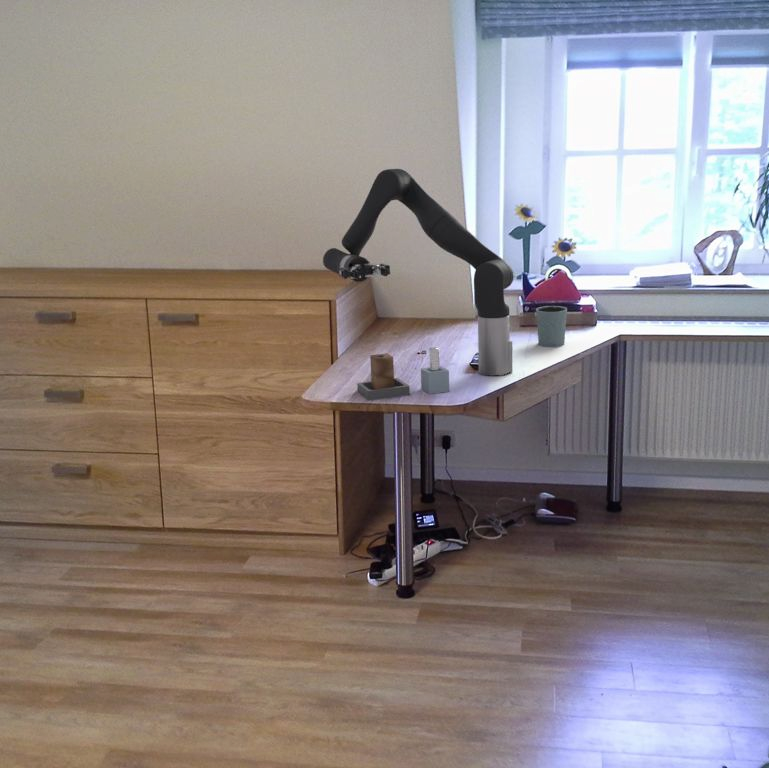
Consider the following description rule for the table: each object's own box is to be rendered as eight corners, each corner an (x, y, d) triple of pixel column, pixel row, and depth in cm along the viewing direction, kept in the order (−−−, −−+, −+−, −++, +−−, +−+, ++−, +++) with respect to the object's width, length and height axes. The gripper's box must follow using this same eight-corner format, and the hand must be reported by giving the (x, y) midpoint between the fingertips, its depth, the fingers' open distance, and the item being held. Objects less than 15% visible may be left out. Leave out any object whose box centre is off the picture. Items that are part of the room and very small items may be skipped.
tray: (397, 386, 264) (397, 377, 264) (409, 394, 255) (409, 385, 255) (357, 391, 261) (357, 382, 260) (368, 400, 252) (368, 391, 251)
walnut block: (388, 387, 261) (387, 352, 258) (394, 391, 256) (393, 356, 254) (371, 389, 259) (370, 354, 257) (377, 394, 255) (375, 358, 252)
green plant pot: (566, 340, 312) (567, 305, 308) (566, 347, 302) (567, 311, 299) (536, 340, 313) (536, 306, 310) (535, 347, 304) (535, 311, 301)
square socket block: (441, 386, 262) (440, 365, 261) (449, 391, 257) (448, 370, 255) (421, 388, 260) (420, 368, 259) (429, 394, 255) (428, 373, 253)
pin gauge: (437, 388, 260) (436, 347, 257) (441, 390, 258) (440, 348, 255) (429, 389, 259) (428, 348, 256) (432, 391, 257) (431, 350, 254)
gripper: (331, 257, 275) (347, 263, 260) (376, 253, 279) (395, 258, 265) (333, 282, 277) (349, 289, 262) (378, 278, 281) (396, 284, 266)
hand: (372, 273), depth 263 cm, fingers open, 8 cm apart
